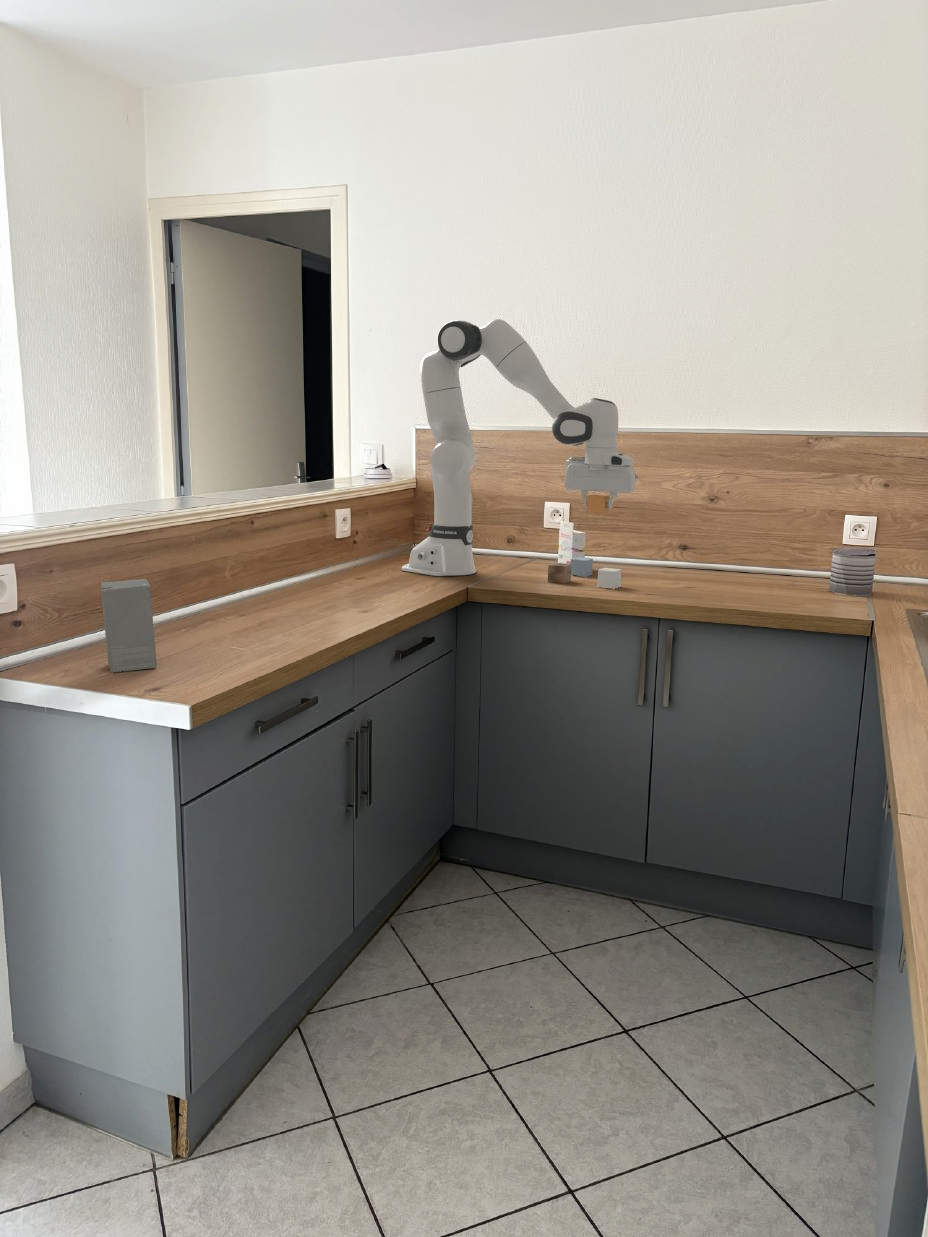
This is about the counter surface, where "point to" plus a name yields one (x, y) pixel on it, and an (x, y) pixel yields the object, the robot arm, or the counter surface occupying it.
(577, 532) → the ink cartridge box
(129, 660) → the skincare box
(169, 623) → the counter surface
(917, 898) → the counter surface
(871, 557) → the can
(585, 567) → the slate cube
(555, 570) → the walnut cube
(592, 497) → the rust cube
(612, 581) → the grey cube
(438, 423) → the robot arm
